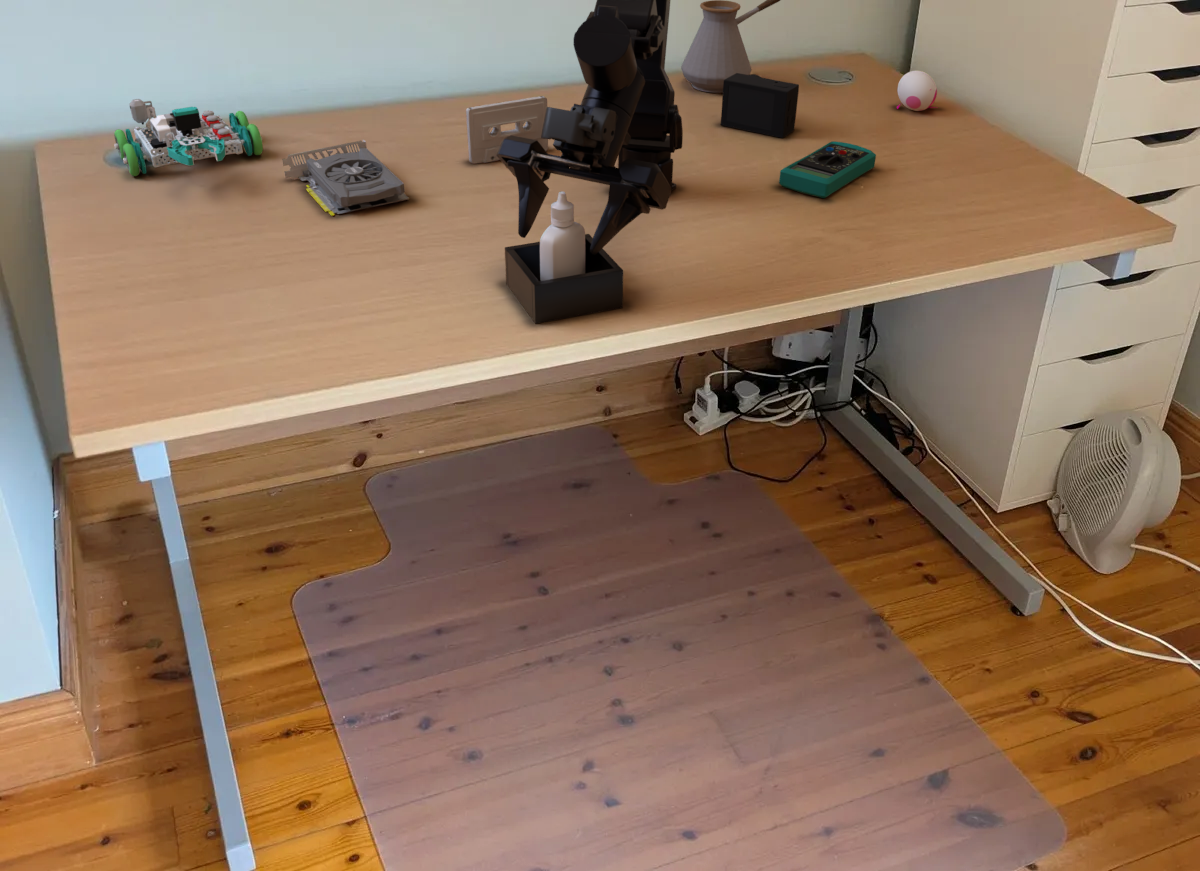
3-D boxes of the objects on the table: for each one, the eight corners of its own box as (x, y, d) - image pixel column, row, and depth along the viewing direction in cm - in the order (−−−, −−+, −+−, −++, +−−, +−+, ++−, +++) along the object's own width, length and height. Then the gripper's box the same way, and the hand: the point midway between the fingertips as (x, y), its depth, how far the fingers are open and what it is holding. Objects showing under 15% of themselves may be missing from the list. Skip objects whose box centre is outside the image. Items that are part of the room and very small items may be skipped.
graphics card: (279, 153, 151) (365, 136, 156) (284, 180, 153) (368, 162, 158) (318, 198, 139) (410, 178, 144) (323, 226, 141) (413, 206, 146)
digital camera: (798, 128, 171) (803, 81, 167) (783, 138, 167) (788, 91, 163) (736, 115, 175) (740, 70, 171) (720, 125, 172) (723, 79, 168)
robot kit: (148, 213, 143) (131, 141, 138) (112, 150, 161) (96, 84, 156) (293, 186, 151) (282, 117, 145) (243, 129, 169) (232, 65, 163)
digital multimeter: (876, 168, 157) (880, 148, 156) (825, 201, 148) (828, 180, 146) (829, 157, 161) (832, 136, 159) (776, 188, 151) (778, 167, 150)
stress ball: (926, 137, 177) (958, 103, 174) (889, 107, 175) (920, 73, 172) (918, 119, 184) (948, 86, 180) (881, 90, 181) (911, 56, 178)
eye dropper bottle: (532, 291, 126) (529, 189, 119) (579, 282, 128) (579, 181, 121) (546, 308, 123) (544, 204, 116) (594, 299, 124) (594, 196, 118)
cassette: (472, 165, 157) (469, 110, 153) (467, 161, 158) (463, 106, 154) (550, 151, 162) (549, 98, 158) (544, 147, 163) (543, 94, 159)
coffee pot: (701, 100, 181) (707, 2, 173) (668, 80, 190) (672, -14, 181) (813, 84, 189) (824, -11, 180) (776, 65, 197) (785, -26, 189)
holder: (506, 283, 127) (504, 247, 125) (588, 269, 131) (588, 233, 128) (535, 324, 120) (534, 285, 117) (622, 307, 123) (623, 270, 120)
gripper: (502, 59, 119) (449, 195, 117) (663, 86, 111) (610, 231, 110) (541, 112, 129) (493, 238, 127) (692, 140, 122) (643, 274, 120)
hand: (556, 244), depth 120 cm, fingers open, 8 cm apart
